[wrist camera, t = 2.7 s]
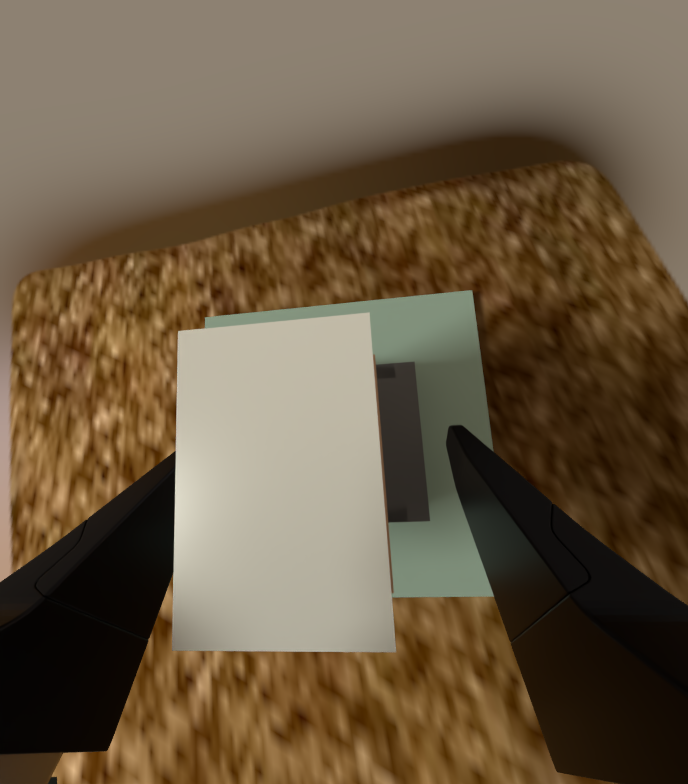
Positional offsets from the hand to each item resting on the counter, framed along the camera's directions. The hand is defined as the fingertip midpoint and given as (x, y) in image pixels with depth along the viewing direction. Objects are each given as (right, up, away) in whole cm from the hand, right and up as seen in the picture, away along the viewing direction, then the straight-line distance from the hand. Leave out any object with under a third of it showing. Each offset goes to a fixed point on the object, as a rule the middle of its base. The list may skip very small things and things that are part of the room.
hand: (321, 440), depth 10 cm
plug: (+1, -1, +7) cm, 7 cm away
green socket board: (+1, -1, +8) cm, 8 cm away
